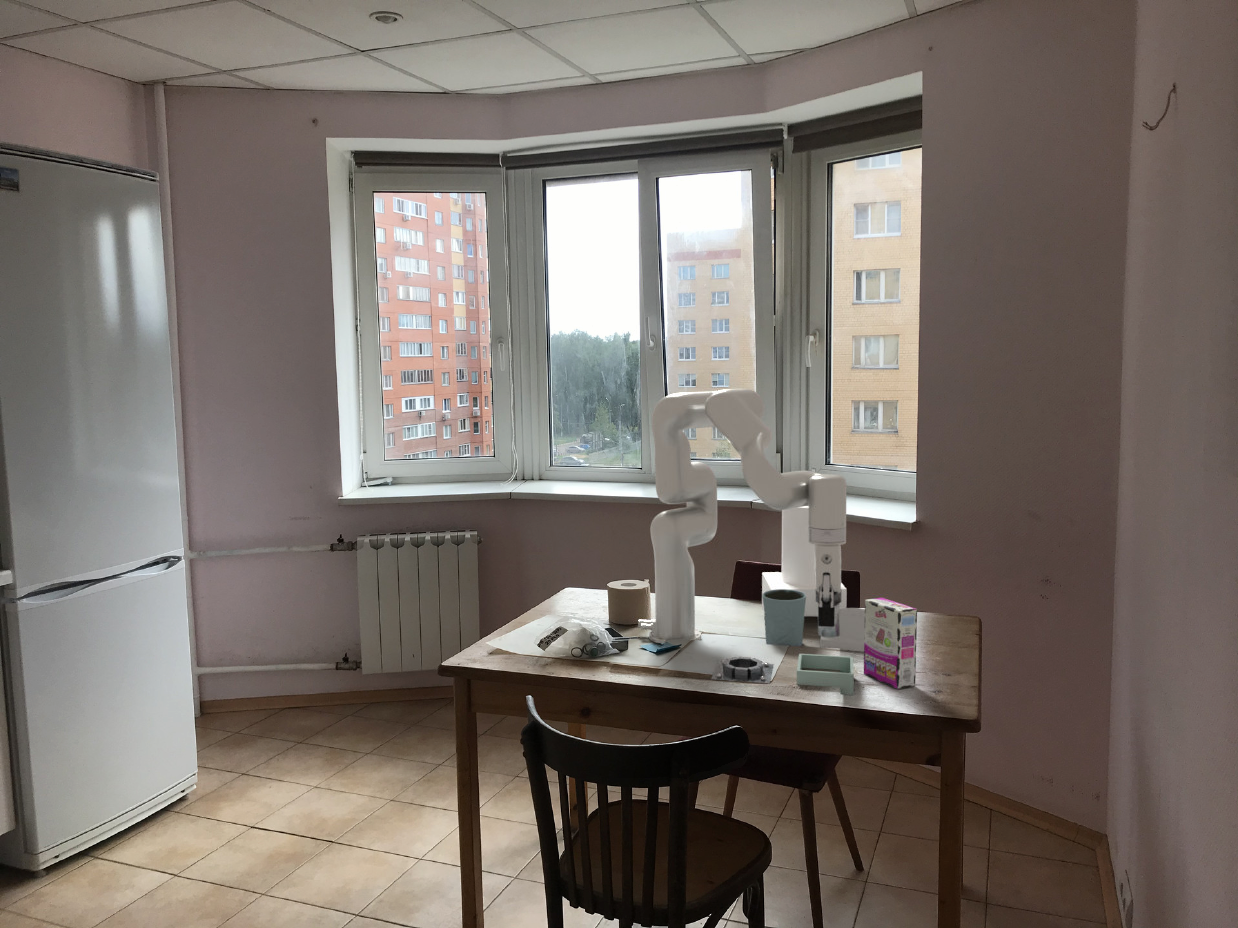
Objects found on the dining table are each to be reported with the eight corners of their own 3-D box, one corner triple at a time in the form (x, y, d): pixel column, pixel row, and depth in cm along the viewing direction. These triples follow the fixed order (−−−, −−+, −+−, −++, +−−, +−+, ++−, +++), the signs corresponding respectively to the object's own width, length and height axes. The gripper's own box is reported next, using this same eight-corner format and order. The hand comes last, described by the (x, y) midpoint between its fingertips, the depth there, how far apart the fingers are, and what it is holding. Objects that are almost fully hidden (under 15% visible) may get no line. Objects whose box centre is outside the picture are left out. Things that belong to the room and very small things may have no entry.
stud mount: (711, 685, 191) (711, 670, 191) (718, 667, 203) (718, 652, 203) (769, 689, 189) (769, 674, 188) (773, 670, 200) (773, 655, 200)
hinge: (818, 646, 216) (821, 603, 219) (821, 647, 221) (824, 605, 223) (891, 654, 210) (894, 610, 212) (894, 655, 214) (896, 612, 216)
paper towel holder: (770, 628, 232) (771, 510, 229) (762, 608, 251) (762, 499, 247) (846, 628, 231) (847, 509, 228) (831, 608, 250) (833, 498, 247)
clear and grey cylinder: (833, 639, 187) (833, 593, 186) (811, 634, 190) (810, 590, 189) (846, 633, 191) (846, 588, 190) (824, 629, 194) (823, 585, 193)
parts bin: (796, 691, 188) (796, 670, 187) (799, 672, 199) (799, 653, 198) (853, 694, 185) (853, 674, 185) (852, 676, 196) (853, 656, 195)
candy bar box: (917, 686, 190) (918, 608, 188) (897, 690, 188) (899, 611, 186) (881, 670, 200) (882, 596, 198) (862, 673, 198) (863, 598, 196)
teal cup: (803, 637, 224) (803, 589, 222) (807, 650, 214) (808, 599, 212) (761, 636, 225) (761, 588, 223) (763, 649, 215) (763, 599, 213)
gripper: (846, 543, 179) (845, 635, 181) (845, 528, 196) (845, 612, 198) (806, 542, 181) (806, 633, 183) (809, 527, 197) (809, 610, 199)
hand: (826, 621), depth 190 cm, fingers closed on clear and grey cylinder, 4 cm apart
